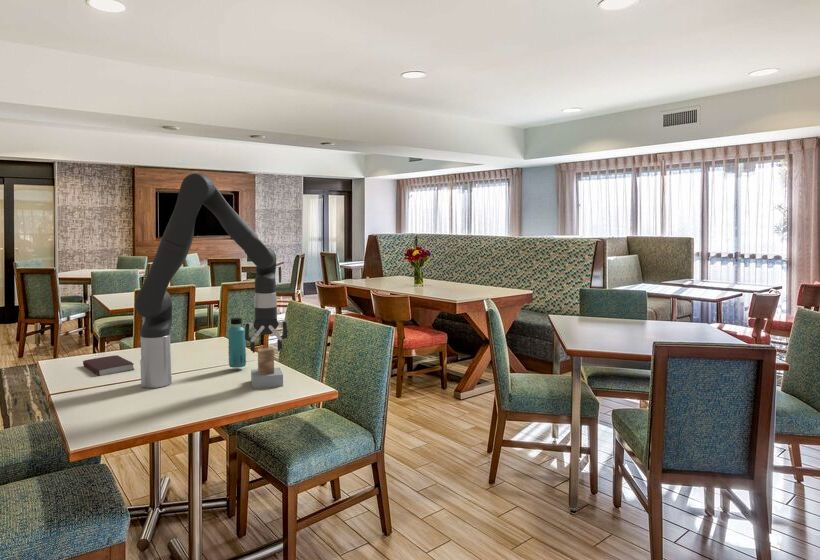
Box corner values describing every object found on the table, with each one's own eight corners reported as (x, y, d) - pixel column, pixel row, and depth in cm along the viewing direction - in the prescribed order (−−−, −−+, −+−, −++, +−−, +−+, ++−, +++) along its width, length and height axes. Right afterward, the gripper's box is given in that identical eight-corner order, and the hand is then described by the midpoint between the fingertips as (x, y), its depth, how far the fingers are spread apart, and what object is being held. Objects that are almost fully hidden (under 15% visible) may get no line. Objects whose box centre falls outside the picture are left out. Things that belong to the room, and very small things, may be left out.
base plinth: (253, 388, 183) (252, 377, 183) (251, 380, 193) (251, 369, 192) (283, 385, 187) (282, 374, 186) (279, 378, 196) (279, 367, 196)
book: (98, 377, 196) (97, 368, 196) (82, 367, 210) (82, 359, 209) (134, 371, 205) (134, 363, 205) (118, 362, 218) (117, 354, 218)
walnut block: (259, 374, 186) (258, 351, 185) (258, 370, 191) (257, 348, 190) (274, 373, 188) (273, 350, 187) (272, 369, 193) (272, 347, 192)
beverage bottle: (241, 372, 204) (240, 319, 202) (225, 371, 205) (223, 318, 203) (249, 367, 210) (248, 316, 208) (234, 366, 211) (232, 316, 209)
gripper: (244, 307, 181) (245, 355, 183) (287, 306, 186) (288, 352, 188) (243, 304, 188) (244, 350, 190) (285, 303, 193) (285, 347, 195)
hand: (266, 351), depth 189 cm, fingers open, 8 cm apart
